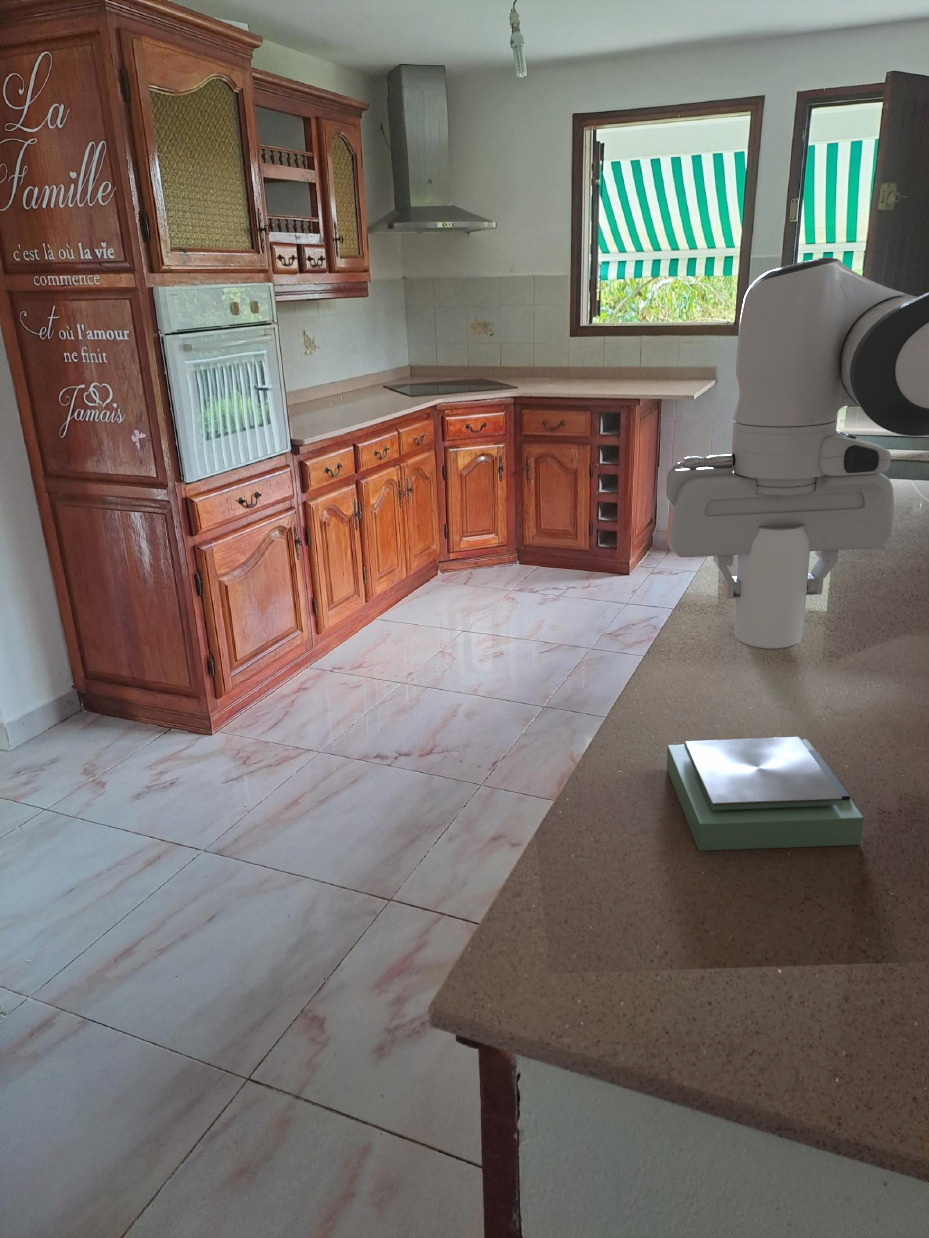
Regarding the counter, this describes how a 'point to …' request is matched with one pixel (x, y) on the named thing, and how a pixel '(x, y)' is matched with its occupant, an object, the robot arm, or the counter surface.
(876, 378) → the robot arm
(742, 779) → the scale pan
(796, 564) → the can
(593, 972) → the counter surface
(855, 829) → the scale
